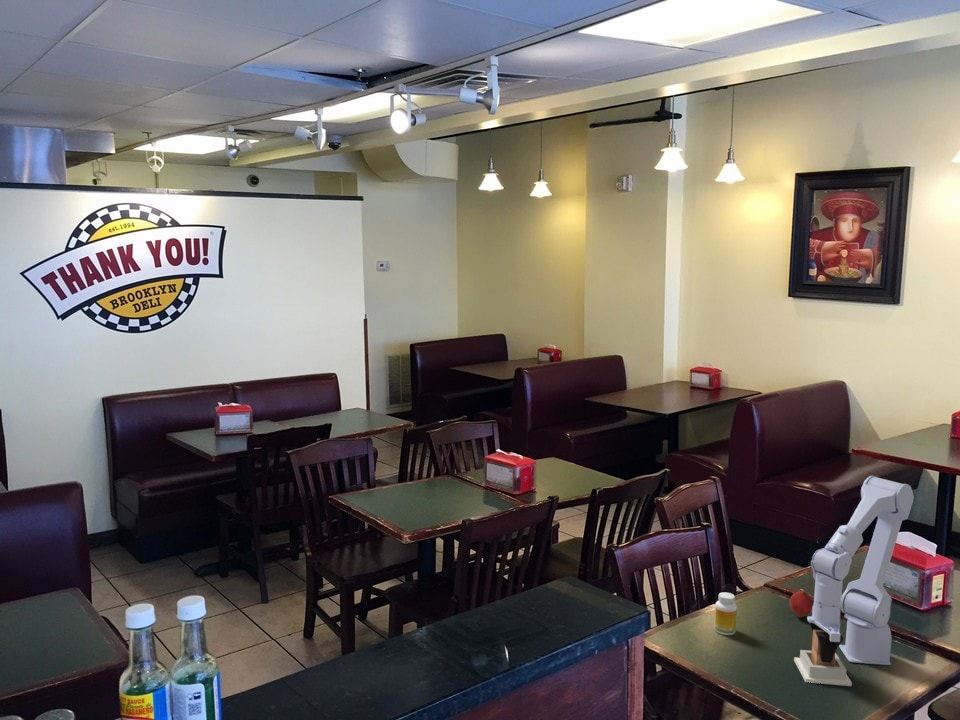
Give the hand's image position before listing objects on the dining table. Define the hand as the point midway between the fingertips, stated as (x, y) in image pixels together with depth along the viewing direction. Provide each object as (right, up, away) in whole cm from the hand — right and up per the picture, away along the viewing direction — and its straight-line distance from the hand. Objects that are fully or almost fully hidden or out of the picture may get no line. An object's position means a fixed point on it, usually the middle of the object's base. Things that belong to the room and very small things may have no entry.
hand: (823, 656), depth 181 cm
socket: (0, -4, +1) cm, 4 cm away
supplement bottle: (-16, -1, +21) cm, 27 cm away
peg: (0, -2, 0) cm, 2 cm away
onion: (+7, -1, +30) cm, 30 cm away
